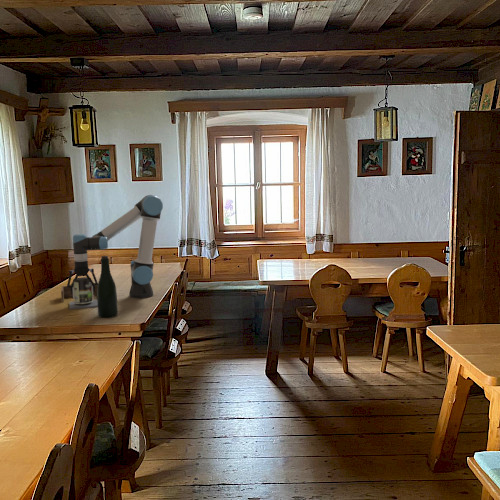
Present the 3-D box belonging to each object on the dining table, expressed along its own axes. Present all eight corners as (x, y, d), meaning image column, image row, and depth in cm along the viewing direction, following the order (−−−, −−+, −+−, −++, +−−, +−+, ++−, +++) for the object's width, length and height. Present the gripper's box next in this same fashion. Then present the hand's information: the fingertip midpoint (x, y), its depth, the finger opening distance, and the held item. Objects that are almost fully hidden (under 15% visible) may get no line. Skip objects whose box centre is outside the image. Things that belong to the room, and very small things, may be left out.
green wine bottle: (101, 313, 282) (98, 254, 278) (120, 313, 282) (117, 254, 278) (95, 318, 272) (91, 257, 268) (114, 318, 272) (111, 257, 267)
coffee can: (95, 300, 306) (94, 277, 304) (87, 304, 296) (85, 280, 294) (80, 299, 308) (78, 277, 306) (71, 303, 298) (69, 280, 296)
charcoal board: (98, 306, 297) (98, 305, 297) (69, 309, 292) (69, 307, 292) (97, 301, 312) (97, 299, 312) (69, 303, 307) (69, 301, 307)
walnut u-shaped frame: (104, 298, 318) (103, 287, 317) (61, 302, 310) (61, 291, 309) (103, 293, 332) (102, 283, 331) (62, 297, 324) (61, 286, 323)
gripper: (100, 258, 306) (102, 294, 309) (60, 260, 298) (63, 297, 301) (101, 260, 298) (103, 297, 301) (60, 262, 291) (63, 300, 294)
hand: (83, 297), depth 301 cm, fingers closed on coffee can, 10 cm apart
